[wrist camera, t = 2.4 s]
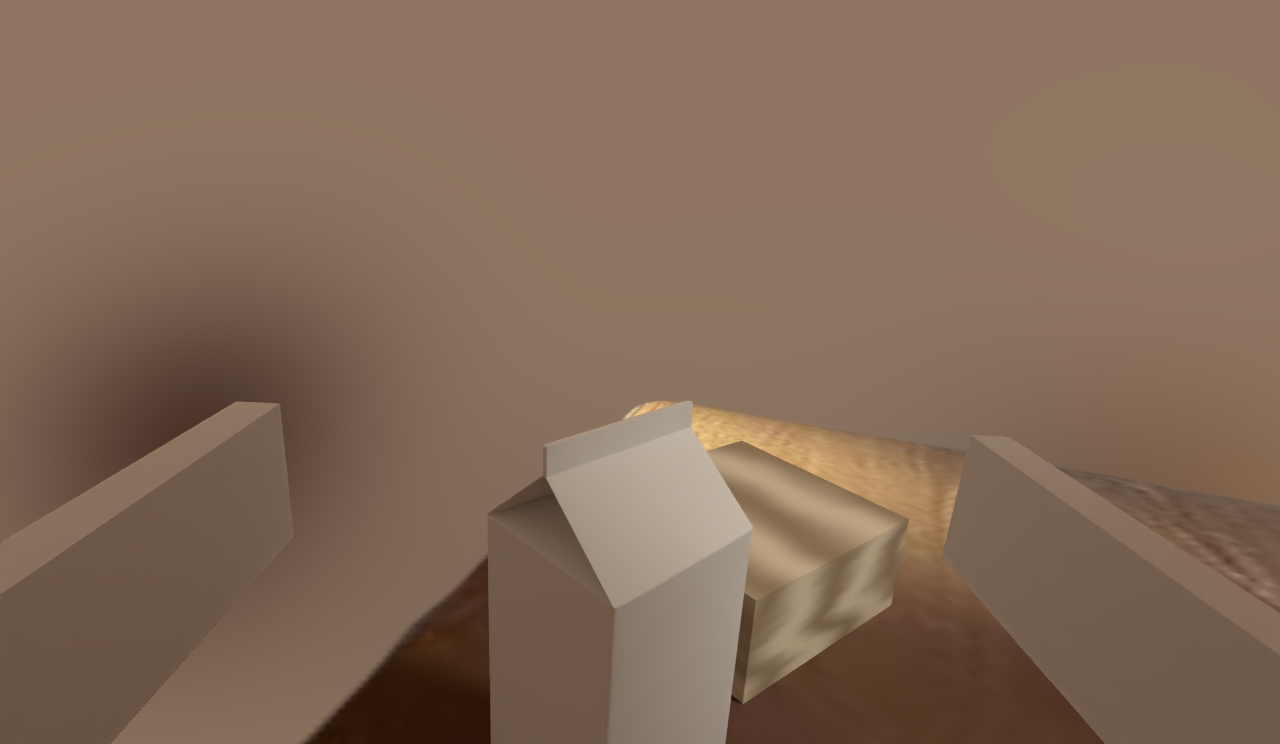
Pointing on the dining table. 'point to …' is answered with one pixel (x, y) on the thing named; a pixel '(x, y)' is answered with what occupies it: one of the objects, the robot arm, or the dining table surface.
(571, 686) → the milk carton
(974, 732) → the dining table surface
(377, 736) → the dining table surface
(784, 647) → the block
